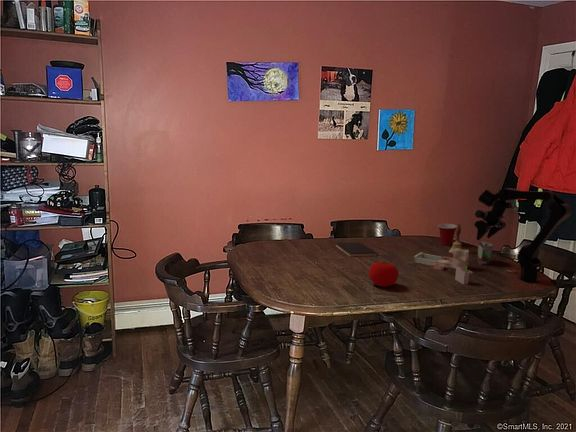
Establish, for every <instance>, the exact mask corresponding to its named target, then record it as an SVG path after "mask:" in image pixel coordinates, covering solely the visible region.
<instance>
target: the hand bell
mask: <svg viewBox="0 0 576 432" xmlns="http://www.w3.org/2000/svg"><path fill="white" fill-rule="evenodd" d="M461 231H462V228H461V224H459V223H458V224H457V227H456V230H455V234H456V236H455V241H454V242H452V244H451V248H450V249H449V250H448V253H450V254H453V252H454V250H455V249H456V248H459V249H463V248H462V247H463V245H462V243H461V242H460V235H461Z"/></svg>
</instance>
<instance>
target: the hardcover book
mask: <svg viewBox="0 0 576 432" xmlns="http://www.w3.org/2000/svg"><path fill="white" fill-rule="evenodd" d="M334 244H335V247H337V248H338V249H339V250H341V251H342V252H343V253H345V254H346V255H347V256H348V257H350V258H351V257H352V258H353V257H377V256H379V252H377V251H375V250H374V249H372V248H370V247H369V246H367V245H366V244H364V243H362V242H361V241H359V242H358V241H357V242H334Z"/></svg>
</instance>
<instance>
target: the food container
mask: <svg viewBox="0 0 576 432" xmlns="http://www.w3.org/2000/svg"><path fill="white" fill-rule="evenodd" d="M477 246H478V247H477V256H476V260H478V261H477V263H479V265H480V266H485V265H486V264H488V265H490V261H491V255H492V253H493V250H494V245H493V244H492V243H490V242H487V241H483V240H482V241H481V240H478V245H477ZM486 266H487V265H486Z"/></svg>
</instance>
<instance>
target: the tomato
mask: <svg viewBox="0 0 576 432" xmlns="http://www.w3.org/2000/svg"><path fill="white" fill-rule="evenodd" d="M368 276H369V277H368V278H369V279H370V281H371V282H372V284H373V285H376V286H378V287H382V288H384V287H385V288H387V287H390V286H393V285H394V284H396V283H397V281H398V279H399V270H398V267H397V266H396V265H395V264H394V263H391V262H388V261H386V260H384V261H381V260H380V261H375V262H374V263H373V264H372V265H371V266H370V267H369V271H368Z"/></svg>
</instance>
